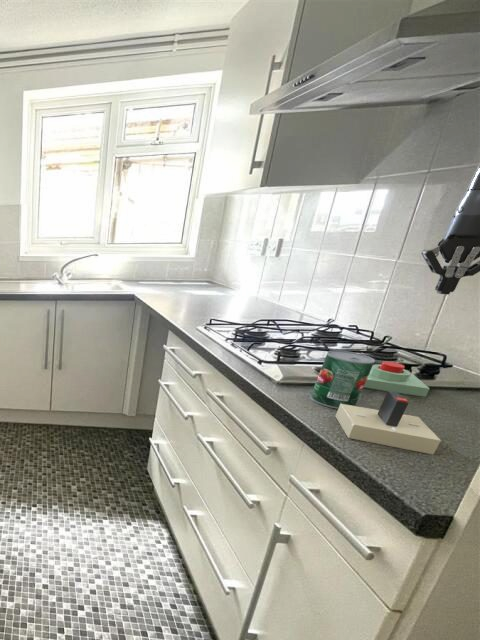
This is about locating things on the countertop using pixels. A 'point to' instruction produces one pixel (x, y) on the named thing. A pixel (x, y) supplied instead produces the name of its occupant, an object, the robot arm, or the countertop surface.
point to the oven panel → (386, 429)
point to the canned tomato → (341, 378)
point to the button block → (395, 382)
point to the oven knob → (392, 408)
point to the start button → (392, 367)
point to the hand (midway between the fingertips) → (442, 293)
